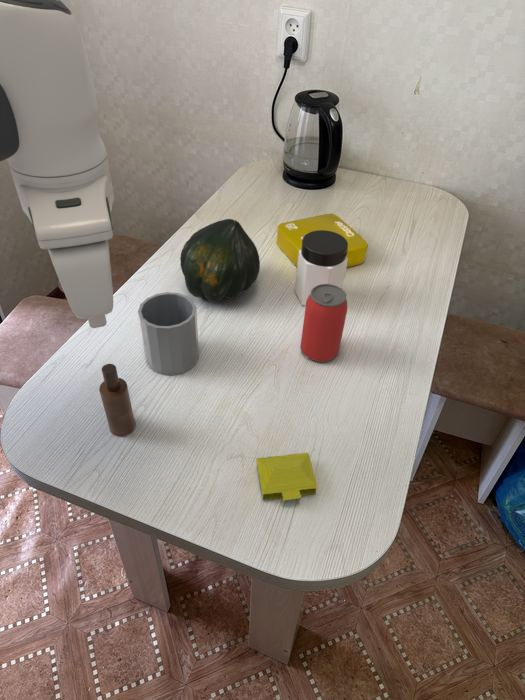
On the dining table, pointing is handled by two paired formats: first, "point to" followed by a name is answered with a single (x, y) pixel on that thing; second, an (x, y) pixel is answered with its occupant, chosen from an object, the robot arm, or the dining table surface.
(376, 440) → the dining table surface
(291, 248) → the yellow box
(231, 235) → the squash
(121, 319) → the dining table surface
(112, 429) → the brown bottle
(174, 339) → the steel cup
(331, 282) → the jar
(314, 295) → the beer can
